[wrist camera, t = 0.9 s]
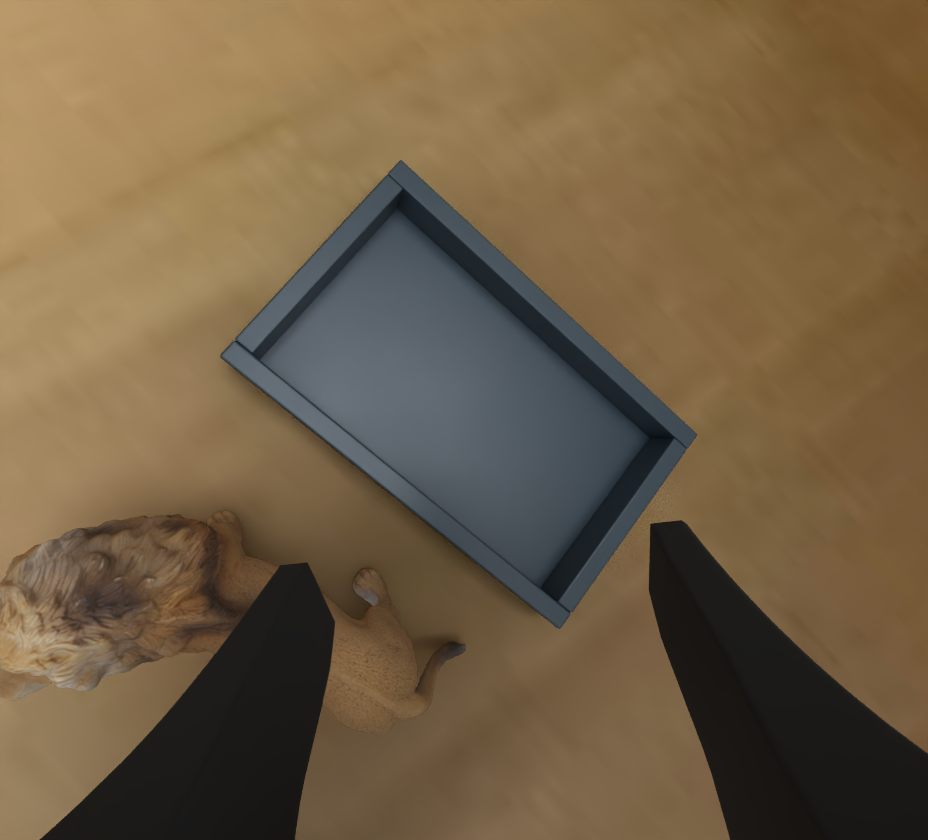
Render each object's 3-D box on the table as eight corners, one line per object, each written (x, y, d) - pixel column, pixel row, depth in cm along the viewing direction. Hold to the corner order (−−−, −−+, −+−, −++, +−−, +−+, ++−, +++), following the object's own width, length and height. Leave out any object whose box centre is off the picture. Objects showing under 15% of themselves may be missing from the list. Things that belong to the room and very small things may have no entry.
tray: (538, 612, 25) (560, 630, 23) (229, 364, 22) (218, 355, 20) (665, 435, 27) (698, 434, 25) (393, 186, 24) (401, 159, 22)
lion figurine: (68, 613, 21) (-116, 737, 12) (123, 473, 21) (-16, 496, 13) (443, 702, 24) (511, 852, 15) (482, 578, 25) (569, 653, 16)
